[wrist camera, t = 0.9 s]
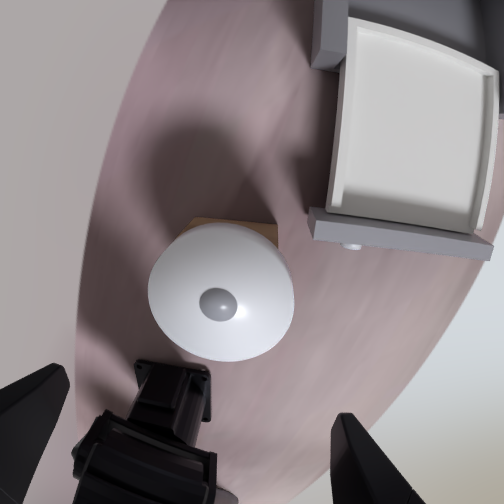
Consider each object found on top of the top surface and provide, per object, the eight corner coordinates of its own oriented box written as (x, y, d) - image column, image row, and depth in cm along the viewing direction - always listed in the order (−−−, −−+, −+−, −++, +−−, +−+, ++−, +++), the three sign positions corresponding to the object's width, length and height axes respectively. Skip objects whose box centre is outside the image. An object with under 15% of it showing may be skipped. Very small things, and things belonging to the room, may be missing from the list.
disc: (283, 349, 17) (283, 368, 15) (162, 333, 17) (153, 351, 16) (301, 230, 14) (305, 242, 13) (156, 216, 15) (143, 226, 13)
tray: (464, 251, 18) (487, 268, 15) (306, 231, 18) (311, 249, 15) (488, 78, 13) (515, 74, 10) (326, 26, 13) (335, 7, 11)
